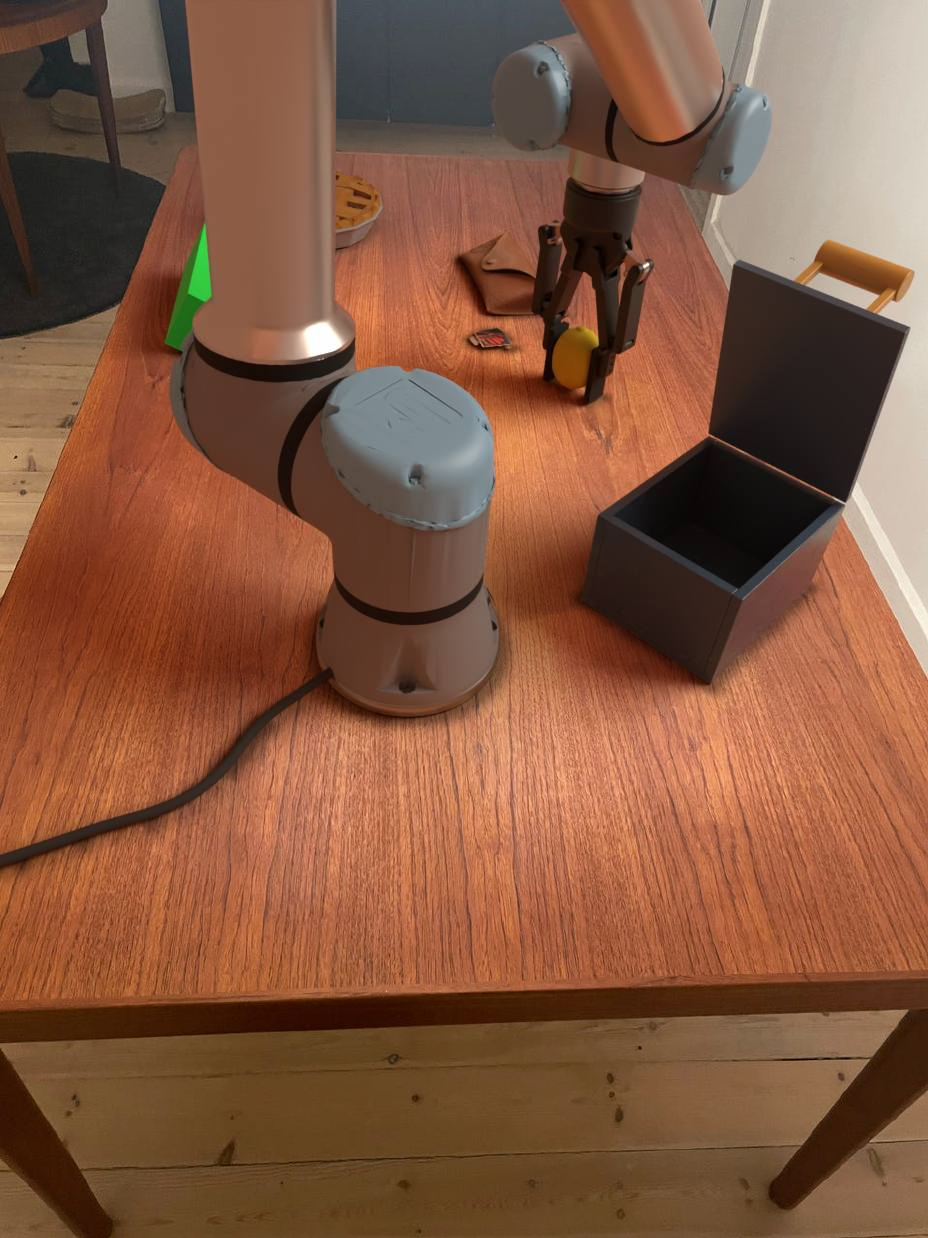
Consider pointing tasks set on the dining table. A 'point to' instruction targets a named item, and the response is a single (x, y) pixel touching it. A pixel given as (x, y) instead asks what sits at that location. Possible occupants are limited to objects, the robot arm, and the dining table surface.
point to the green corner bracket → (190, 292)
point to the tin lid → (808, 366)
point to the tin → (707, 555)
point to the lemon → (573, 356)
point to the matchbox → (490, 338)
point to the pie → (354, 209)
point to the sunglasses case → (502, 275)
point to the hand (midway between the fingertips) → (572, 387)
